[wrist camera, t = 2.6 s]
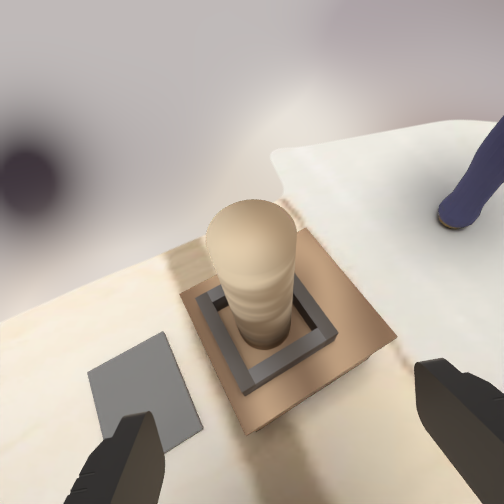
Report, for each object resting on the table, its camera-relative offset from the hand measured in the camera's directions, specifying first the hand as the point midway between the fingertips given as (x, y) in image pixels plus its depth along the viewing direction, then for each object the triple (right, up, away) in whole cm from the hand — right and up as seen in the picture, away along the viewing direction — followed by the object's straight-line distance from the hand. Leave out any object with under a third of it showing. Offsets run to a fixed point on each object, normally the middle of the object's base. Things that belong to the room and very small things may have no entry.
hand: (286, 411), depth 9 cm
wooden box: (+2, -4, +21) cm, 22 cm away
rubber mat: (-11, -9, +20) cm, 25 cm away
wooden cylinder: (0, -1, +14) cm, 14 cm away
